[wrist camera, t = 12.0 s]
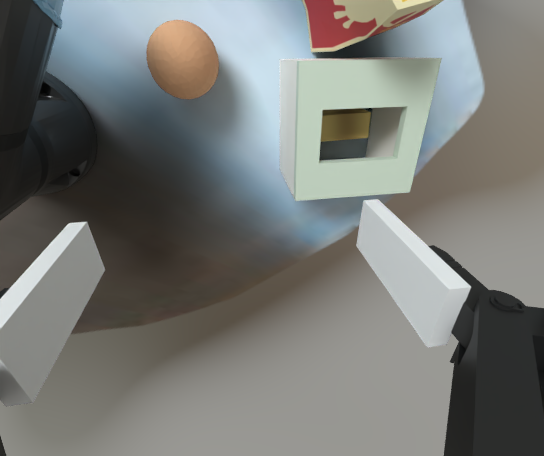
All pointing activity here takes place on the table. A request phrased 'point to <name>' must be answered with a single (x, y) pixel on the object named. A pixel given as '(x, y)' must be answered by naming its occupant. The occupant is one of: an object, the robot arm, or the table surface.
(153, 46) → the egg
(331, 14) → the milk carton
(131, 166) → the table surface
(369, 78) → the coin box
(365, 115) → the cardboard box
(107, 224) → the table surface
